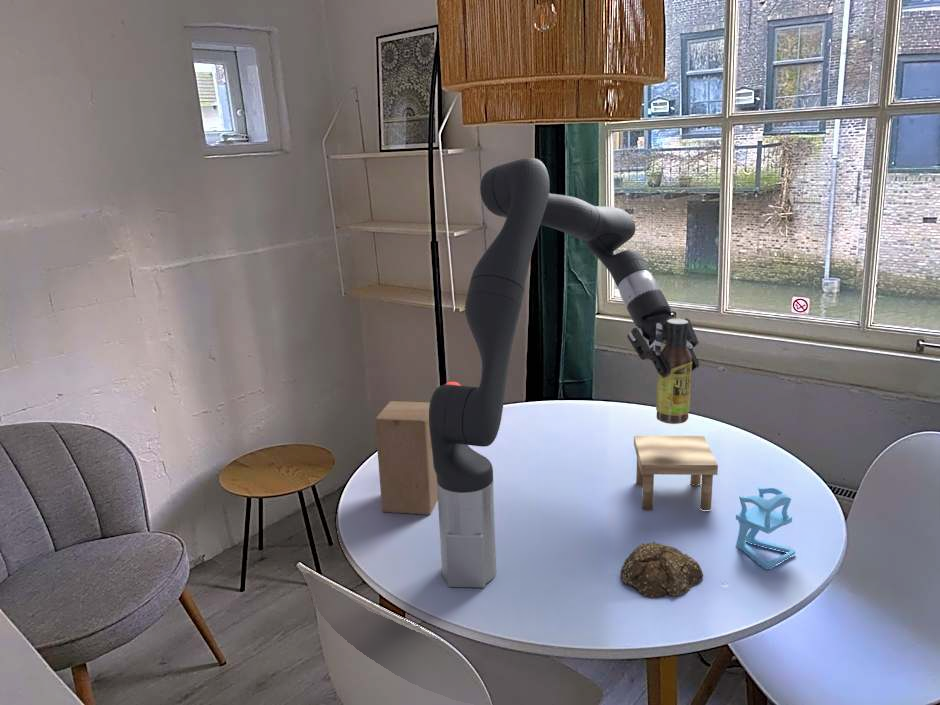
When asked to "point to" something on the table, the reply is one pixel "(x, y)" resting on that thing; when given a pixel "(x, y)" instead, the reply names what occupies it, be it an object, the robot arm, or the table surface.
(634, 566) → the bread roll
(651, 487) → the small wooden side table
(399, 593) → the table surface
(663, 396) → the sauce bottle
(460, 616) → the table surface
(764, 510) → the chair
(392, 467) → the wooden block
